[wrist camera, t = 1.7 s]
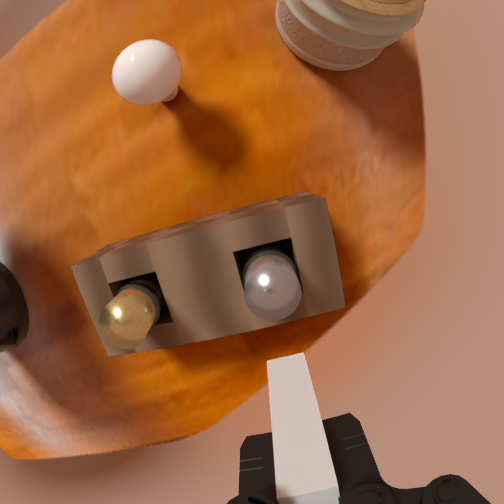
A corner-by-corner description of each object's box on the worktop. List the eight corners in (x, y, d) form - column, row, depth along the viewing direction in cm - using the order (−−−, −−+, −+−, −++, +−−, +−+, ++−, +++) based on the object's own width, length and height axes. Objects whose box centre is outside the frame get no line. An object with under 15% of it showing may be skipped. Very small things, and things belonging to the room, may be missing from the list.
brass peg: (138, 314, 31) (109, 354, 23) (123, 275, 30) (88, 306, 22) (176, 306, 31) (155, 347, 23) (162, 265, 30) (134, 296, 22)
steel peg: (250, 289, 30) (250, 328, 23) (238, 246, 29) (234, 273, 22) (295, 278, 30) (309, 314, 22) (284, 234, 29) (297, 257, 21)
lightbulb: (206, 94, 31) (188, 62, 21) (160, 129, 32) (123, 113, 22) (175, 56, 30) (147, 16, 19) (131, 90, 31) (88, 63, 20)
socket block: (134, 319, 38) (108, 356, 29) (107, 245, 35) (70, 266, 27) (324, 276, 36) (345, 307, 28) (306, 191, 34) (325, 198, 25)
